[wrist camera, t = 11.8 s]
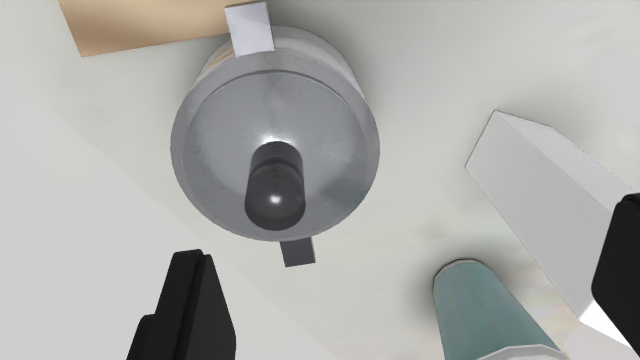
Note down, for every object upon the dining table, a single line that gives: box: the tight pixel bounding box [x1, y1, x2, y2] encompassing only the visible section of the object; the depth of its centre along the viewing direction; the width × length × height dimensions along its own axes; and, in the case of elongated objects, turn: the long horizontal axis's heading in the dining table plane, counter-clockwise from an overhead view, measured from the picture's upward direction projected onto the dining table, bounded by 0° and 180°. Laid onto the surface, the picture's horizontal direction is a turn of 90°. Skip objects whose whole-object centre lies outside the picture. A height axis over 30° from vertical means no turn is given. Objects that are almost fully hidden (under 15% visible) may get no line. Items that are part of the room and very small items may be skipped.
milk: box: [465, 111, 638, 349], centre depth 32 cm, size 6×6×22 cm
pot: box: [170, 0, 380, 267], centre depth 34 cm, size 20×14×9 cm
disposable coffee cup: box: [433, 260, 569, 360], centre depth 43 cm, size 11×11×15 cm
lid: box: [183, 69, 368, 239], centre depth 27 cm, size 12×12×6 cm
